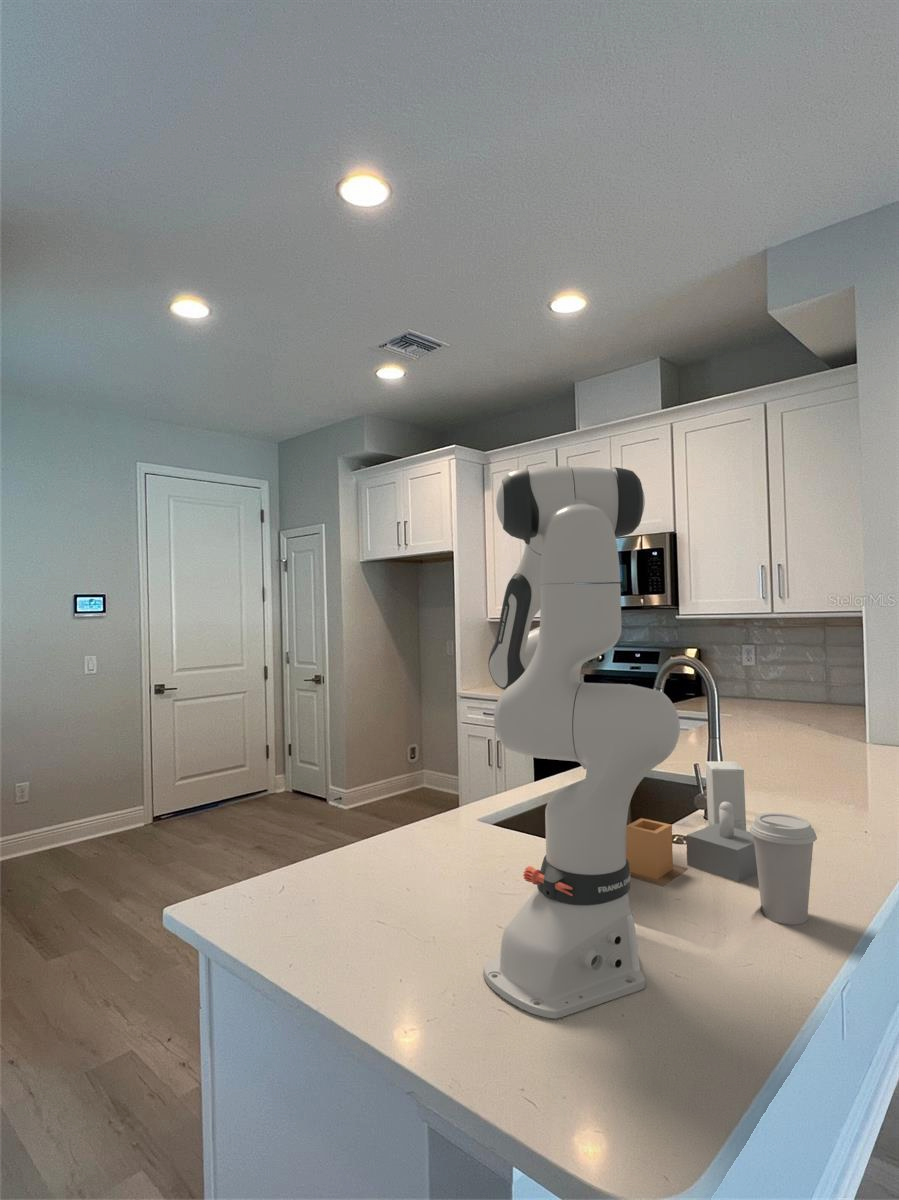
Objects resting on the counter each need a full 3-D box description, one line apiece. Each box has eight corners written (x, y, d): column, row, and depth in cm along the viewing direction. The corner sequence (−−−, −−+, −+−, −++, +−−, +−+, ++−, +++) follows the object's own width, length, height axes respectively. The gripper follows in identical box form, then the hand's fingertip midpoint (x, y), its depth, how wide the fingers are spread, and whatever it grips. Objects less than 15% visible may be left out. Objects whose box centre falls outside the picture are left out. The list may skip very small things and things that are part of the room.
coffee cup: (737, 908, 113) (736, 815, 113) (783, 898, 116) (781, 808, 116) (785, 934, 104) (783, 834, 104) (832, 922, 107) (831, 825, 107)
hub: (738, 890, 119) (736, 814, 119) (687, 873, 127) (685, 801, 127) (768, 875, 125) (767, 802, 125) (718, 859, 133) (716, 790, 133)
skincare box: (747, 848, 139) (745, 770, 139) (712, 846, 140) (711, 769, 140) (738, 833, 147) (737, 760, 147) (705, 832, 149) (704, 759, 149)
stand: (663, 894, 118) (662, 843, 118) (610, 879, 125) (609, 831, 125) (688, 876, 126) (687, 828, 126) (637, 863, 132) (636, 817, 132)
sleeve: (657, 879, 121) (656, 833, 121) (626, 870, 125) (625, 826, 125) (672, 869, 126) (671, 824, 125) (642, 860, 130) (641, 818, 130)
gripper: (535, 704, 131) (578, 766, 124) (603, 683, 144) (646, 738, 137) (520, 723, 135) (561, 784, 128) (588, 701, 148) (628, 755, 141)
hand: (605, 760), depth 133 cm, fingers open, 8 cm apart
